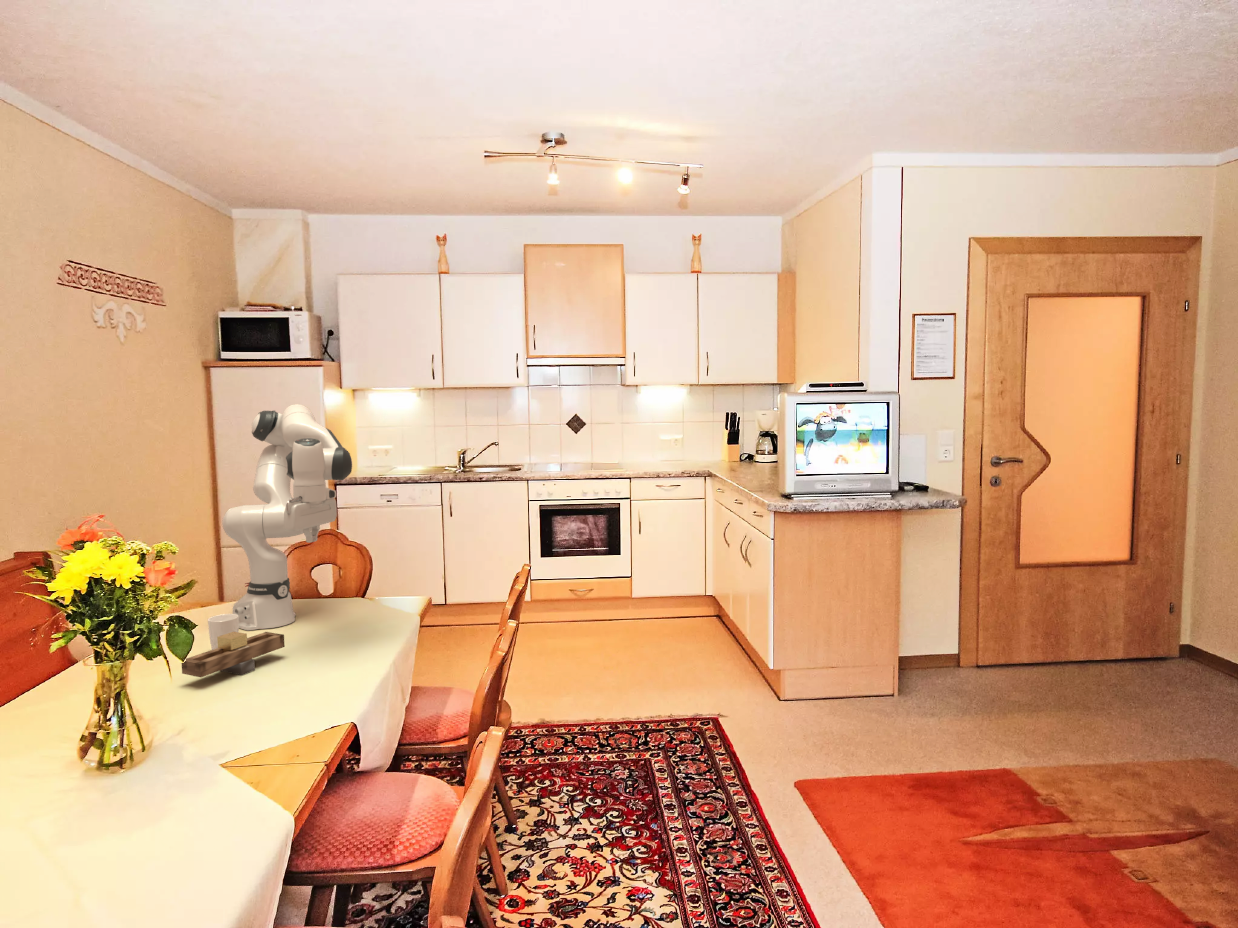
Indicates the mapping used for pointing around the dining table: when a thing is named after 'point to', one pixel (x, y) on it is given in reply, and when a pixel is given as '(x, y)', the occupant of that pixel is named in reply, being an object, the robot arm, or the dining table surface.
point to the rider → (232, 641)
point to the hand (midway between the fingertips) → (311, 541)
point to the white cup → (221, 627)
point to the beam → (233, 656)
